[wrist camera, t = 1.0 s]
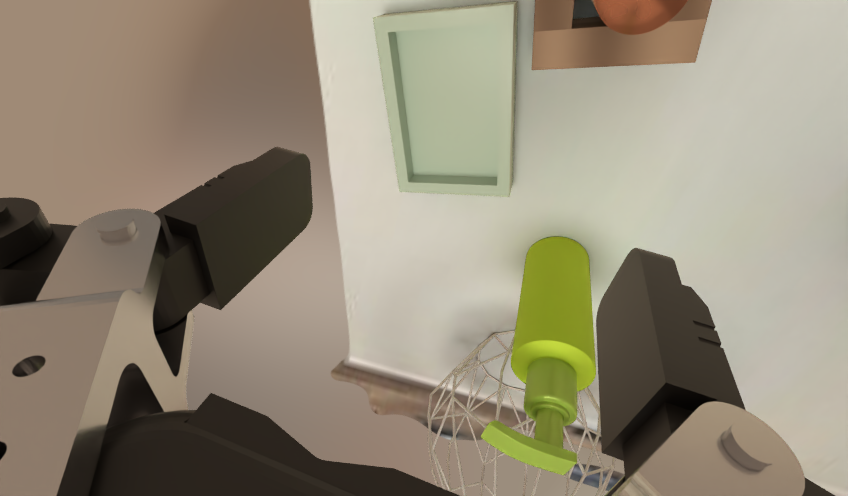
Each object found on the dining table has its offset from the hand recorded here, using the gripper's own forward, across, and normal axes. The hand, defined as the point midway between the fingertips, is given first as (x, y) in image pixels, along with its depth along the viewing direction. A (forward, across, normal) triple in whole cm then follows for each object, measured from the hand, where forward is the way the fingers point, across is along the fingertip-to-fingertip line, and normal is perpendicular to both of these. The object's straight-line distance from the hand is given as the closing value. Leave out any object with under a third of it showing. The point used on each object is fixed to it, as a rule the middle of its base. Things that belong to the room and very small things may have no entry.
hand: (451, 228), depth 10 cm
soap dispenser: (+25, -7, +18) cm, 31 cm away
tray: (+24, +5, +5) cm, 26 cm away
